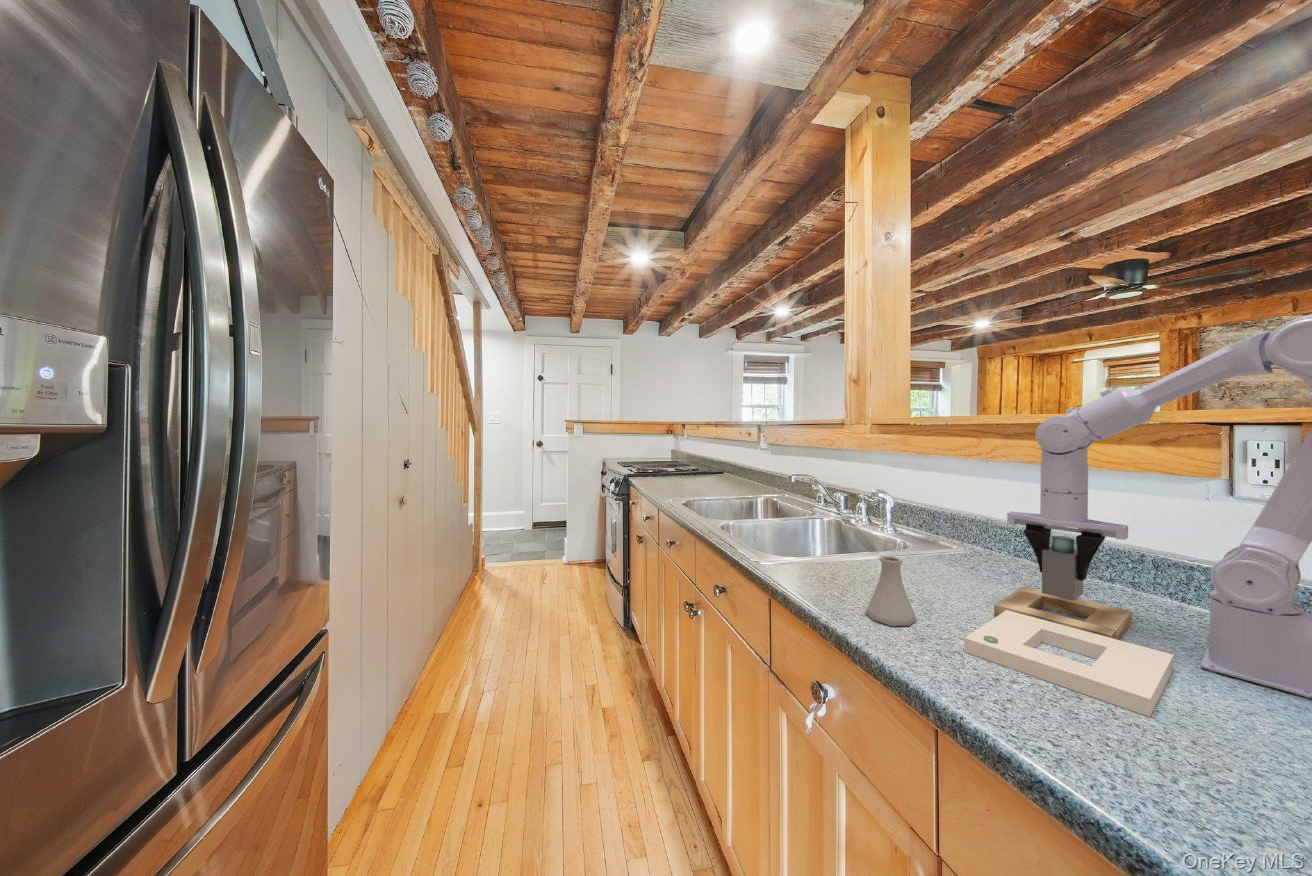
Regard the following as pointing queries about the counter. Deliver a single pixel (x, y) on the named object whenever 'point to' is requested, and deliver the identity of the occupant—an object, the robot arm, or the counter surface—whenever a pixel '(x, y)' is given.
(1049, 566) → the plug
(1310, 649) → the robot arm
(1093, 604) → the slotted wooden base
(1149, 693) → the port dock
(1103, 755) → the counter surface
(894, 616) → the flask
